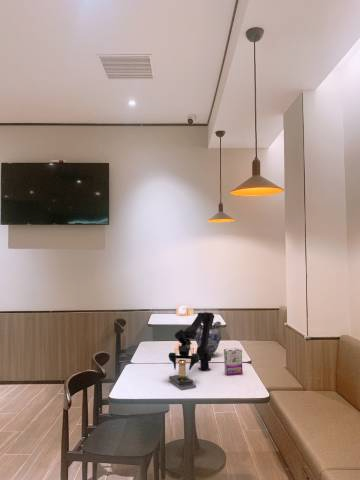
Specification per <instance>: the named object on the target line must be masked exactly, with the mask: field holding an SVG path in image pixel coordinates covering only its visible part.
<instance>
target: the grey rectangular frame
mask: <svg viewBox="0 0 360 480" xmlns="http://www.w3.org/2000/svg"><path fill="white" fill-rule="evenodd" d="M168 379H169V380H170V381H171V384H172V385H174V386H175V387H176V388H177V389H179V390H180V391H185V390H190V389H196V388H197V384H195V383H194V381H193V379H192V378H190V377H188V376H186V380H185V381H179V374H175V375H169V376H168Z"/></svg>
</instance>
